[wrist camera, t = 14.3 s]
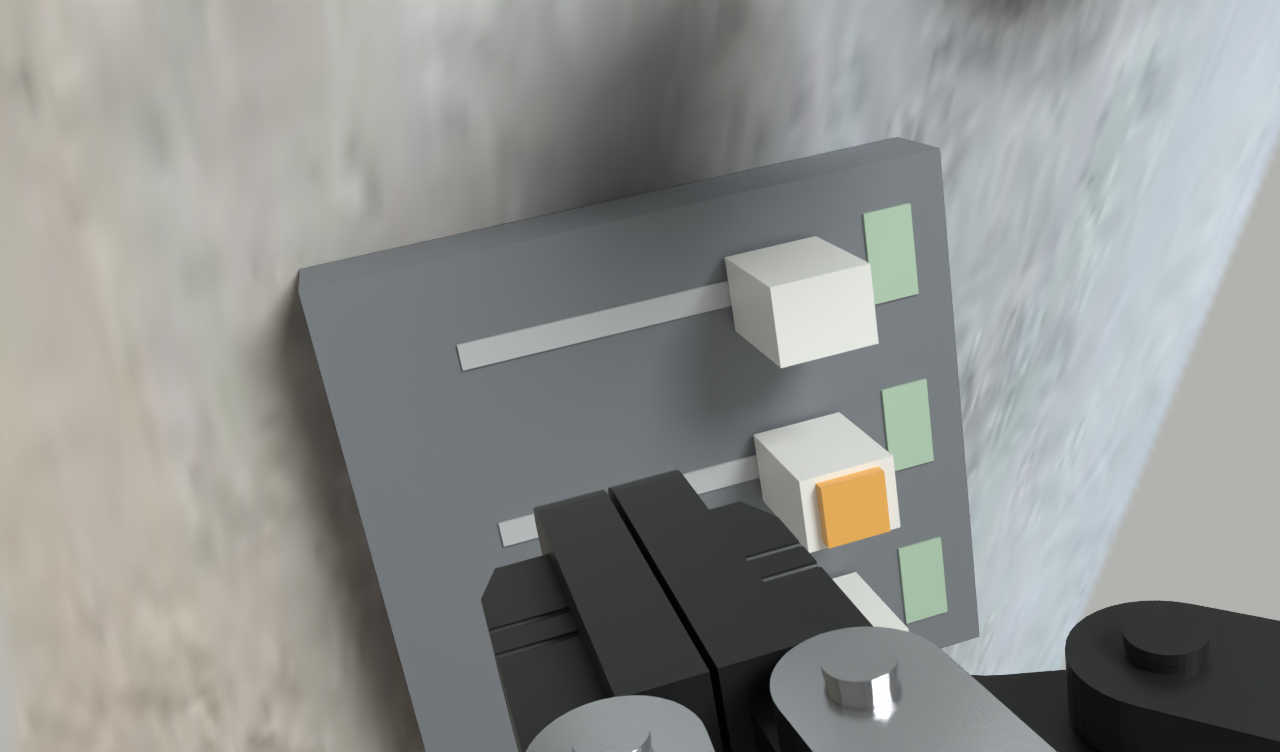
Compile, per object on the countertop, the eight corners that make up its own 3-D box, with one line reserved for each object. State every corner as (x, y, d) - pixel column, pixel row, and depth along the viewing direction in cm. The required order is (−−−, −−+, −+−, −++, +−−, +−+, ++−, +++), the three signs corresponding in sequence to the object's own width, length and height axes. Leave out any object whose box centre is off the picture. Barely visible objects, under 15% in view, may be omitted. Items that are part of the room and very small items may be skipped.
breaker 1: (724, 257, 37) (770, 287, 33) (815, 236, 38) (870, 263, 34) (735, 330, 38) (781, 368, 34) (824, 309, 38) (878, 343, 35)
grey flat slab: (299, 268, 37) (298, 292, 34) (897, 137, 41) (941, 148, 38) (431, 749, 43) (439, 803, 40) (940, 598, 47) (980, 637, 44)
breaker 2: (774, 595, 41) (819, 655, 37) (855, 571, 42) (908, 628, 38) (783, 655, 42) (828, 719, 38) (862, 631, 42) (915, 692, 39)
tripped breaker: (753, 434, 39) (804, 486, 35) (839, 412, 40) (899, 460, 36) (763, 500, 40) (813, 558, 36) (846, 477, 40) (906, 532, 36)
